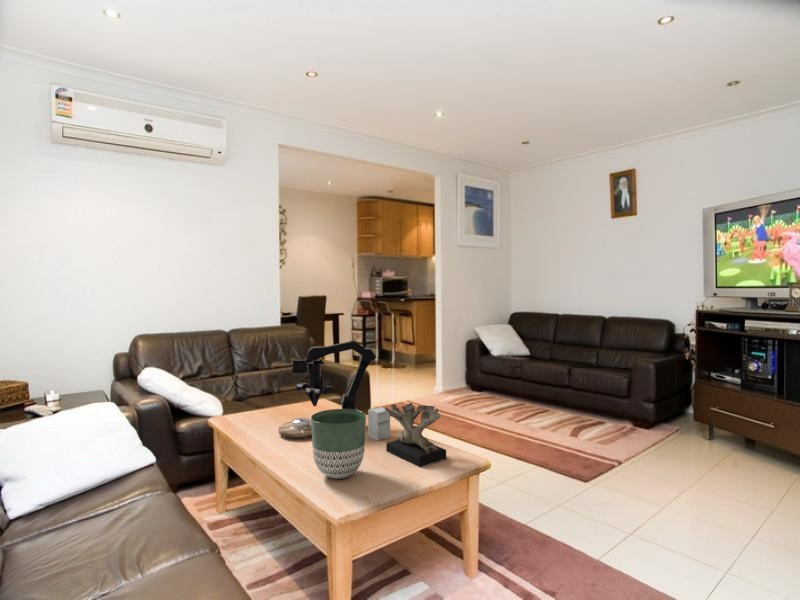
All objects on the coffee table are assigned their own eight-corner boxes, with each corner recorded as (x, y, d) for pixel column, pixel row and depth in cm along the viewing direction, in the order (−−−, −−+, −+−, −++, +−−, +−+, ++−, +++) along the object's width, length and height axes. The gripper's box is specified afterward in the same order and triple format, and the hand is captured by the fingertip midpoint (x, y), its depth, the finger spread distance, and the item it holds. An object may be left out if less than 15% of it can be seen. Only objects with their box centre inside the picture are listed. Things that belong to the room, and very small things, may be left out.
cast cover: (310, 428, 206) (310, 421, 205) (292, 429, 203) (292, 423, 203) (308, 423, 213) (308, 416, 213) (291, 424, 211) (291, 418, 211)
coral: (452, 462, 174) (452, 406, 173) (410, 474, 162) (410, 415, 162) (413, 444, 194) (413, 394, 194) (373, 454, 182) (372, 401, 182)
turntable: (325, 434, 202) (325, 419, 202) (279, 439, 196) (278, 423, 196) (320, 422, 221) (320, 408, 221) (278, 425, 216) (278, 411, 215)
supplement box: (377, 441, 198) (377, 412, 198) (367, 437, 204) (367, 409, 203) (390, 437, 203) (390, 409, 202) (380, 433, 208) (380, 406, 208)
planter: (349, 461, 175) (348, 406, 175) (376, 477, 159) (376, 417, 159) (302, 473, 163) (301, 414, 163) (327, 492, 148) (326, 427, 147)
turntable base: (325, 431, 211) (325, 429, 211) (301, 441, 198) (301, 438, 198) (300, 426, 220) (300, 423, 220) (275, 435, 206) (275, 432, 206)
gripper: (340, 372, 216) (341, 404, 217) (311, 369, 226) (311, 400, 226) (325, 376, 207) (326, 410, 207) (295, 372, 216) (295, 405, 217)
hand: (314, 406), depth 215 cm, fingers closed
